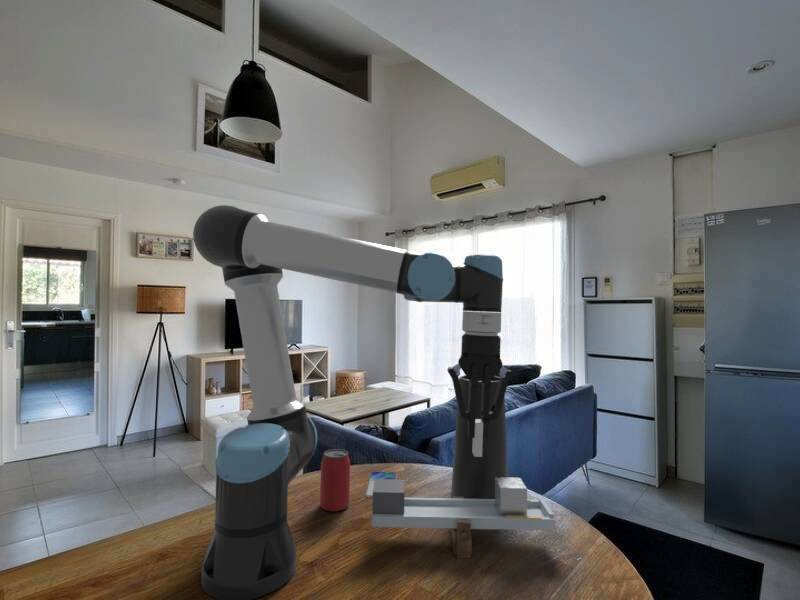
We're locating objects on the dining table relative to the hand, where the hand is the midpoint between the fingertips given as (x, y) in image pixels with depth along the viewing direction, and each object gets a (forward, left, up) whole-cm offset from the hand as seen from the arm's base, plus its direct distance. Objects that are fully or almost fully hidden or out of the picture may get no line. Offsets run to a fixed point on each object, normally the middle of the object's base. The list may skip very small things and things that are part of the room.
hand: (477, 454), depth 80 cm
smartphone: (-20, +25, -18) cm, 37 cm away
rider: (+7, 0, -11) cm, 13 cm away
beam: (-3, 0, -13) cm, 13 cm away
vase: (+4, +19, -17) cm, 26 cm away
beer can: (-30, +13, -17) cm, 37 cm away
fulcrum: (-3, 0, -17) cm, 17 cm away
